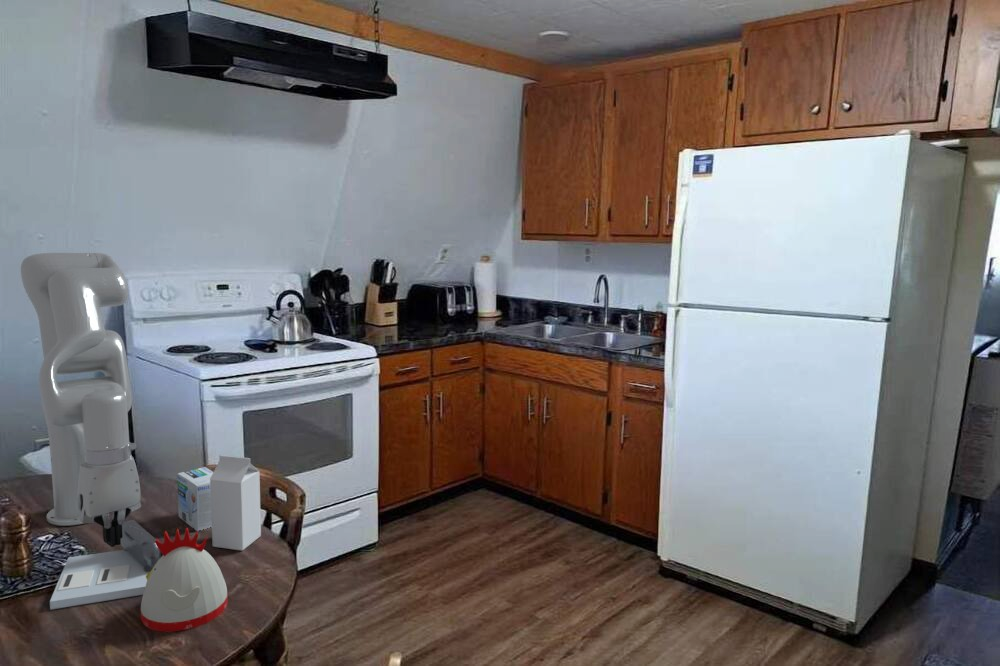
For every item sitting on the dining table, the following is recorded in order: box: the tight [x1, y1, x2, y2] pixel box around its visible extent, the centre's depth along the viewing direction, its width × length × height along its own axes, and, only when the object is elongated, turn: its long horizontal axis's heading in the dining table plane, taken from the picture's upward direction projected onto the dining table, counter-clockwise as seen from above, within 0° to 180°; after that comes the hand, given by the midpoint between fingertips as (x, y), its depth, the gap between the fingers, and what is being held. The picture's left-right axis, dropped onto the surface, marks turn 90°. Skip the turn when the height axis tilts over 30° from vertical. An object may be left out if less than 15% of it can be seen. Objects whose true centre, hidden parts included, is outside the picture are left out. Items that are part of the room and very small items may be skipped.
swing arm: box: [120, 519, 162, 572], centre depth 133 cm, size 3×16×5 cm, turn 47°
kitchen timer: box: [140, 527, 228, 633], centre depth 118 cm, size 14×14×15 cm
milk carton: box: [210, 454, 262, 551], centre depth 143 cm, size 7×7×19 cm
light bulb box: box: [176, 466, 214, 532], centre depth 154 cm, size 11×7×11 cm, turn 47°
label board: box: [49, 549, 149, 610], centre depth 128 cm, size 17×15×2 cm
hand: (113, 543), depth 134 cm, fingers closed
